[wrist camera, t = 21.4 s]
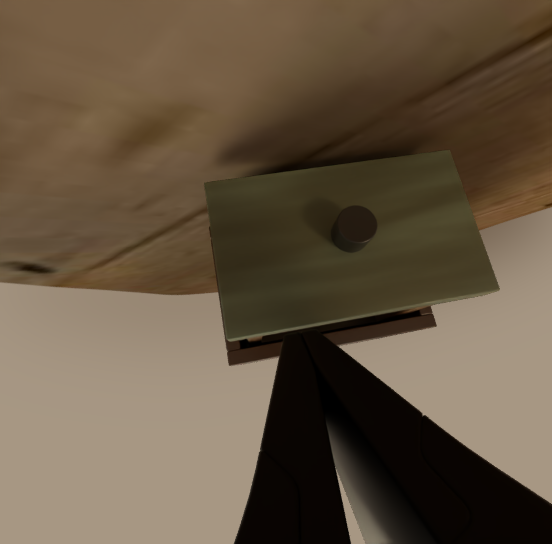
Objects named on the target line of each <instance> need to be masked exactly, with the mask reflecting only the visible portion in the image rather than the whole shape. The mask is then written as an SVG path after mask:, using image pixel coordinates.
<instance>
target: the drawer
mask: <svg viewBox="0 0 552 544" xmlns="http://www.w3.org/2000/svg"><path fill="white" fill-rule="evenodd" d="M204 187H205V194H206V201H207V207H208V214H209V221H210V228H211V235H212V242H213V249H214V256H215V263H216V270H217V277H218V284H219V290H220V297H221V304H222V311H223V318H224V325H225V332H226V339H227V340H228V341H230V342H232V341H238V340H243V339H248V342H249V344H250V346H254V345H260V344H265V343H270V342H276V341H281V340H283V337H284V335H285V334H290V333H296V332H298V333H300V334H301V332H302V331H307V330H312V329H316V330H318V331H319V332H320V333H324V332H330V331H335V330H340V329H346V328H351V327H357V326H362V325H367V324H373V323H378V322H383V321H386V320H389V319H392V318H395V317H398V316H401V315H404V314H407V313H410V312H414V311H417V310H420V309H423V308H426V307H429V306H432V305H435V304H440V303H445V302H451V301H456V300H462V299H467V298H473V297H478V296H483V295H486V294H490V293H493V292H496V291H499V290H500V288H499V285H498V282H497V280H496V277H495V274H494V271H493V269H492V266H491V263H490V260H489V257H488V255H487V252H486V249H485V246H484V244H483V241H482V238H481V235H480V233H479V230H478V227H477V224H476V221H475V219H474V216H473V213H472V210H471V208H470V205H469V202H468V199H467V196H466V194H465V191H464V188H463V185H462V183H461V180H460V177H459V174H458V171H457V169H456V166H455V163H454V160H453V158H452V155H451V152H450V150H443V151H435V152H428V153H421V154H413V155H406V156H398V157H391V158H383V159H376V160H369V161H361V162H354V163H346V164H339V165H332V166H324V167H317V168H309V169H302V170H295V171H287V172H280V173H272V174H265V175H257V176H250V177H243V178H235V179H228V180H220V181H213V182H206V183H204Z"/></svg>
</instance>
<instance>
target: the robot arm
mask: <svg viewBox="0 0 552 544" xmlns="http://www.w3.org/2000/svg"><path fill="white" fill-rule="evenodd" d="M335 466H336V468H335ZM336 469H337V472H338V474H339V476H340V479H341V482H342V484H343V487H344V490H345V492H346V495H347V497H348V500H349V502H350V505H351V508H352V510H353V513H354V515H355V518H356V520H357V523H358V525H359V528H360V531H361V533H362V536H363V538H364V541H365V543H366V544H552V504H551V503H549V502H548V501H546V500H545V499H543V498H542V497H540V496H539V495H537V494H536V493H534V492H533V491H531V490H530V489H528V488H527V487H525V486H523V485H522V484H521V483H519V482H518V481H516V480H515V479H513V478H511V477H510V476H509V475H507V474H506V473H504V472H503V471H501V470H500V469H498V468H497V467H495V466H494V465H492V464H491V463H489V462H488V461H486V460H485V459H483V458H482V457H480V456H479V455H478V454H476V453H475V452H473V451H472V450H470V449H469V448H467V447H466V446H465V445H463V444H462V443H461V442H459V441H458V440H457V439H455V438H454V437H453V436H451V435H450V434H449V433H447V432H446V431H445V430H443V429H442V428H441V427H439V426H438V425H437V424H436V423H434V422H433V421H432V420H431V419H429V418H428V417H427V416H425V415H424V416H423V417H422V413H421V412H420V411H419V410H418V409H417V408H415V407H414V406H413V405H411V404H410V403H409V402H408V401H406V400H405V399H404V398H403V397H401V396H400V395H399V394H397V393H396V392H395V391H394V390H393V389H391V388H390V387H389V386H387V385H386V384H385V383H384V382H382V381H381V380H380V379H379V378H377V377H376V376H375V375H373V374H372V373H371V372H370V371H368V370H367V369H366V368H365V367H363V366H362V365H361V364H360V363H358V362H357V361H356V360H355V359H353V358H352V357H351V356H349V355H348V354H347V353H345V352H344V351H343V350H342V349H341V348H339V347H338V346H337V345H336V344H334V343H333V342H332V341H331V340H329V339H328V338H327V337H326V336H324V335H323V334H322V333H320V332H319V331H318V330H316V329H312V330H307V331H302V332H301V334H300V333H298V332H296V333H290V334H285V335H284V337H283V341H282V346H281V351H280V356H279V361H278V366H277V371H276V375H275V380H274V385H273V389H272V395H271V399H270V404H269V409H268V414H267V418H266V423H265V428H264V433H263V438H262V443H261V448H260V452H259V456H258V461H257V465H256V470H255V474H254V478H253V482H252V486H251V490H250V495H249V498H248V501H247V505H246V508H245V511H244V514H243V517H242V521H241V524H240V527H239V530H238V533H237V536H236V539H235V542H234V544H351V541H350V536H349V532H348V528H347V523H346V518H345V512H344V508H343V502H342V498H341V493H340V488H339V483H338V478H337V473H336Z"/></svg>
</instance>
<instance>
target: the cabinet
mask: <svg viewBox="0 0 552 544" xmlns="http://www.w3.org/2000/svg"><path fill="white" fill-rule="evenodd" d="M209 231H210V238H211V244H212V251H213V258H214V265H215V272H216V279H217V286H218V293H219V300H220V307H221V313H222V321H223V328H224V335H225V342H226V349H227V351H228V352H227V356H228V363H229V366H233V365H242V364H247V363H252V362H258V361H263V360H268V359H273V358H279V356H280V351H281V346H282V341H283V340H281V341H276V342H270V343H265V344H260V345H254V346H250V344H249V342H248V339H243V340H238V341H232V342H230V341H228V340H227V339H226V332H225V325H224V318H223V311H222V304H221V297H220V290H219V284H218V277H217V270H216V263H215V256H214V249H213V242H212V235H211V228H210V227H209ZM436 326H437V325H436V322H435V319H434V316H433V314H432V309H431V306H429V307H426V308H423V309H420V310H417V311H414V312H410V313H407V314H404V315H401V316H398V317H395V318H392V319H389V320H386V321H383V322H378V323H373V324H367V325H362V326H357V327H351V328H346V329H340V330H335V331H330V332H324V333H322V334H323V335H324V336H326V337H327V338H328V339H329V340H331V341H332V342H333V343H334V344H336V345H337V346H342V345H347V344H352V343H358V342H363V341H368V340H373V339H378V338H383V337H387V336H392V335H397V334H402V333H407V332H412V331H417V330H422V329H426V328H431V327H436Z"/></svg>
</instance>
